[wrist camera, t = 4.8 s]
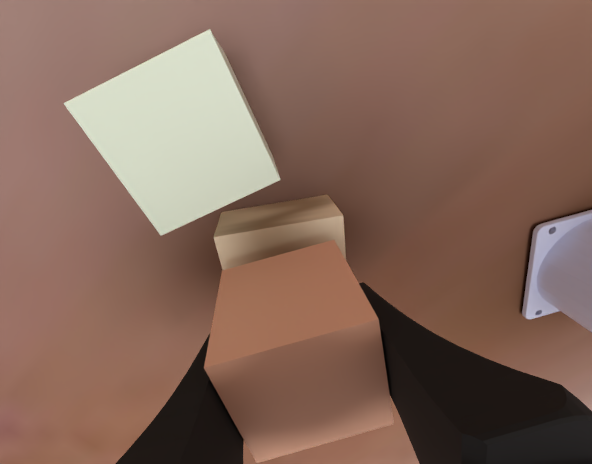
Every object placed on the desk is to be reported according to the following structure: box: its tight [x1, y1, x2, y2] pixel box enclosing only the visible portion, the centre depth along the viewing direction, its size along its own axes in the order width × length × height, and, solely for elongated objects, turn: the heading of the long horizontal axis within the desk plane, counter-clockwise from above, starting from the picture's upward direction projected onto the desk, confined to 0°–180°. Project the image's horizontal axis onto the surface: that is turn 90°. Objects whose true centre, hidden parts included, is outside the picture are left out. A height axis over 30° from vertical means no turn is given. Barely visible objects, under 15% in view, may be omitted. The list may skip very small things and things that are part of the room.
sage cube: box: [64, 29, 280, 235], centre depth 12 cm, size 5×5×5 cm
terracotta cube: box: [204, 240, 394, 463], centre depth 11 cm, size 5×5×5 cm
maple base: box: [214, 195, 346, 270], centre depth 16 cm, size 6×6×4 cm
